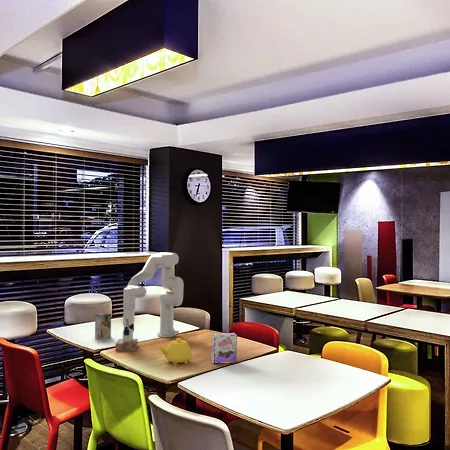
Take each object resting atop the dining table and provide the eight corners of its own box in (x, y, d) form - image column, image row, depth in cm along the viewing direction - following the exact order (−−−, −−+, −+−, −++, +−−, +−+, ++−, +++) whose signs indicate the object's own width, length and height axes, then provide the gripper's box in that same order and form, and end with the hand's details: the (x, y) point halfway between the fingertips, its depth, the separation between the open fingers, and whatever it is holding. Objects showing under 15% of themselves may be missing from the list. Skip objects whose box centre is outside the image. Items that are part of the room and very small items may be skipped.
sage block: (132, 340, 294) (133, 329, 294) (130, 342, 289) (130, 331, 289) (125, 339, 295) (125, 328, 295) (122, 341, 290) (122, 330, 290)
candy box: (213, 364, 261) (214, 335, 261) (211, 361, 267) (211, 333, 267) (236, 363, 265) (237, 334, 265) (233, 360, 270) (234, 332, 270)
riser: (137, 346, 297) (137, 338, 297) (134, 351, 285) (135, 343, 285) (118, 346, 297) (119, 338, 297) (115, 351, 285) (115, 343, 285)
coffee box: (105, 335, 323) (105, 312, 323) (111, 336, 319) (111, 314, 319) (94, 337, 316) (95, 314, 316) (100, 339, 312) (100, 315, 312)
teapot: (163, 368, 251) (164, 344, 251) (153, 361, 264) (153, 337, 265) (196, 364, 261) (196, 340, 261) (184, 357, 275) (184, 334, 275)
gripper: (128, 304, 301) (127, 330, 301) (119, 309, 284) (118, 336, 284) (139, 304, 300) (138, 330, 300) (130, 309, 283) (130, 337, 283)
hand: (129, 333), depth 292 cm, fingers open, 9 cm apart
